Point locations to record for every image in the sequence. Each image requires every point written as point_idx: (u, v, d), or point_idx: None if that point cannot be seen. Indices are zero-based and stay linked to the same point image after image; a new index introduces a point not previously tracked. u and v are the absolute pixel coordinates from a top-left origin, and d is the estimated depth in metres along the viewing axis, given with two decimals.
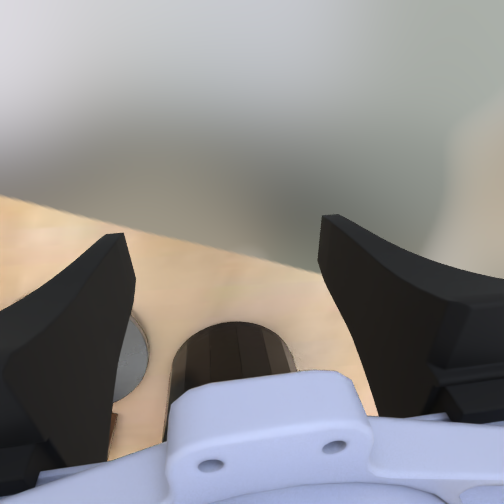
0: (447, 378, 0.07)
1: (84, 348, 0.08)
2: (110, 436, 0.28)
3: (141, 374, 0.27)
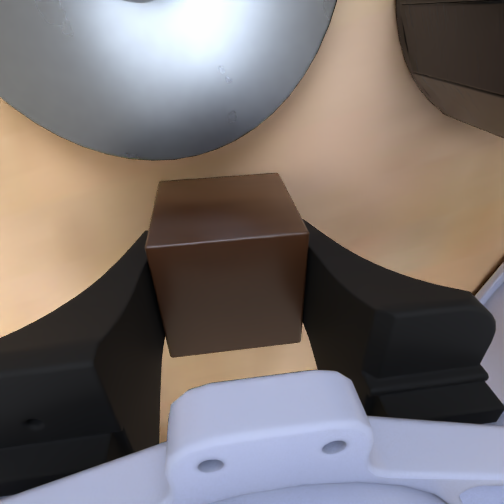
0: (379, 387, 0.07)
1: (141, 341, 0.08)
2: (288, 197, 0.11)
3: None
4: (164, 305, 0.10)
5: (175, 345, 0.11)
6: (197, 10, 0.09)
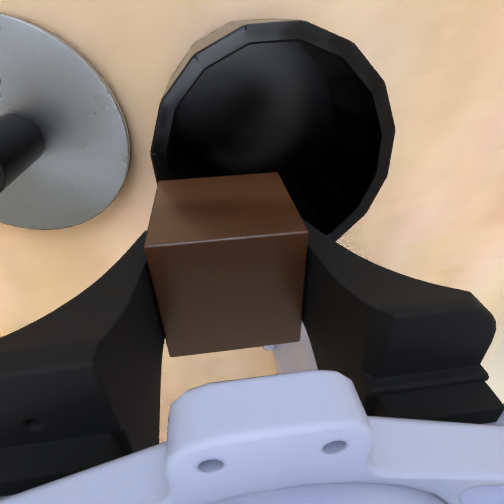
0: (379, 387, 0.07)
1: (141, 341, 0.08)
2: (288, 196, 0.11)
3: (124, 148, 0.19)
4: (163, 304, 0.10)
5: (174, 344, 0.11)
6: (56, 164, 0.19)
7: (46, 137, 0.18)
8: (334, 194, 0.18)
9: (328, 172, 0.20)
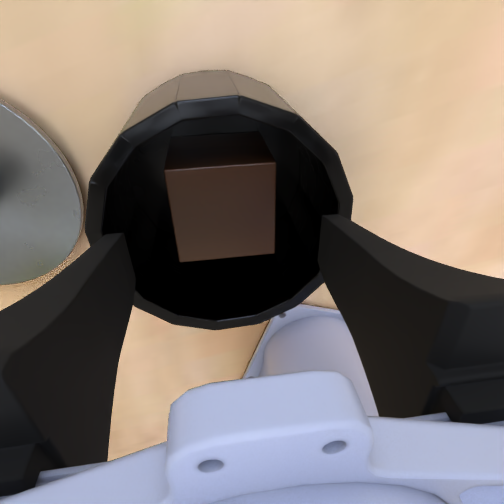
0: (447, 378, 0.07)
1: (84, 348, 0.08)
2: (265, 145, 0.16)
3: (75, 204, 0.17)
4: (175, 217, 0.15)
5: (183, 251, 0.15)
6: (4, 221, 0.17)
7: None
8: (298, 251, 0.17)
9: (295, 223, 0.19)
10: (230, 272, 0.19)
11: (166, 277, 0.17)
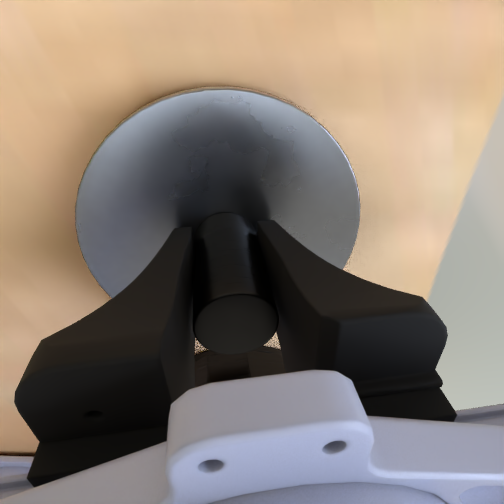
0: None
1: (182, 337, 0.09)
2: None
3: None
4: None
5: None
6: None
7: None
8: None
9: None
10: None
11: None
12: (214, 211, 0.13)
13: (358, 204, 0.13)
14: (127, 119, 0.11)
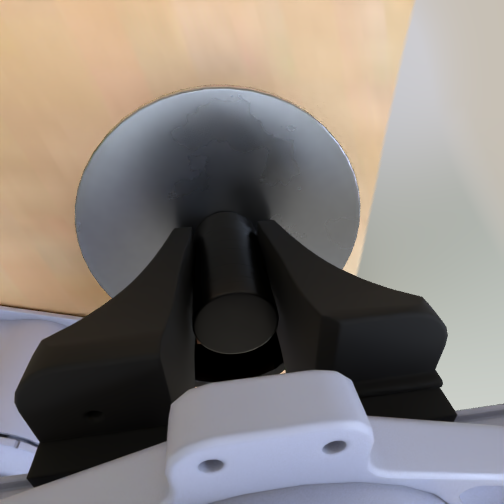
0: None
1: (182, 337, 0.09)
2: None
3: None
4: None
5: None
6: None
7: None
8: None
9: None
10: None
11: None
12: (214, 210, 0.13)
13: (358, 203, 0.13)
14: (127, 118, 0.11)
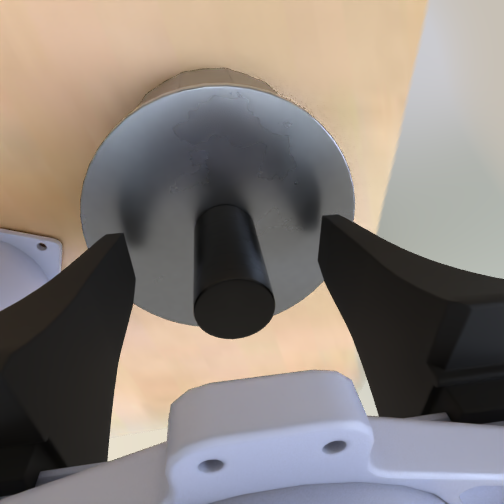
0: (447, 378, 0.07)
1: (84, 348, 0.08)
2: None
3: None
4: None
5: None
6: (193, 263, 0.14)
7: None
8: None
9: None
10: None
11: None
12: (214, 203, 0.13)
13: (353, 197, 0.14)
14: (131, 114, 0.11)
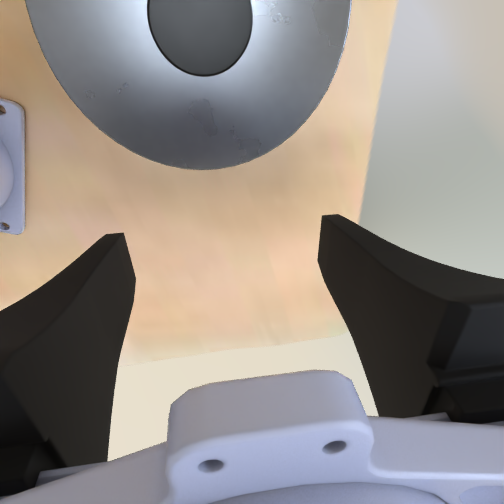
0: (447, 378, 0.07)
1: (84, 348, 0.08)
2: None
3: (193, 165, 0.14)
4: None
5: None
6: (162, 66, 0.12)
7: None
8: None
9: None
10: None
11: None
12: None
13: None
14: None
